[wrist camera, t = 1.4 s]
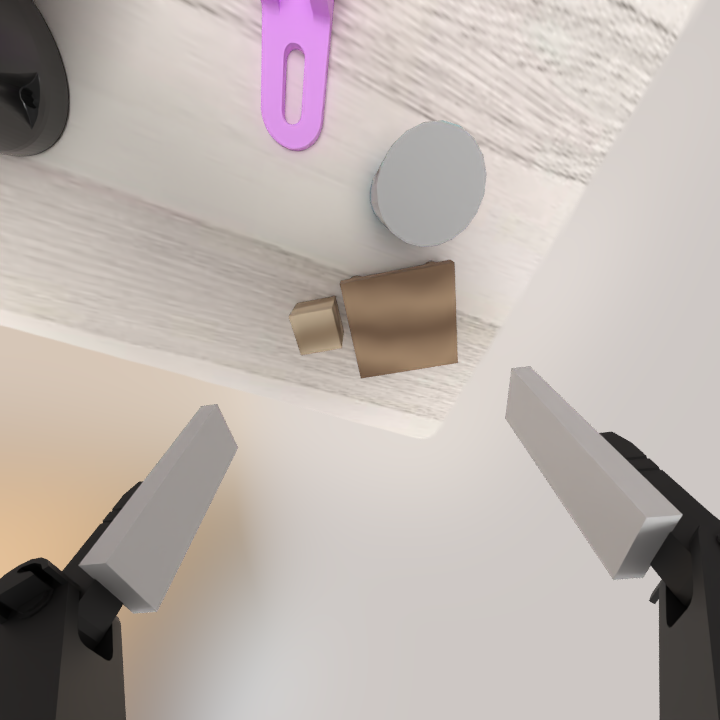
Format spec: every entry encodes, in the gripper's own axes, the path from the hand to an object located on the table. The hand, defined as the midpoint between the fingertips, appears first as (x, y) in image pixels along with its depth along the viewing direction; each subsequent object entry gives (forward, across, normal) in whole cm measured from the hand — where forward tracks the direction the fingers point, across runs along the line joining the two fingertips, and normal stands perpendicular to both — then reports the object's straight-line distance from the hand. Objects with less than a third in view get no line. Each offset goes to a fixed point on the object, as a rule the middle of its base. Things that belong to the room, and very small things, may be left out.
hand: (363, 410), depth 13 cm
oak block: (+26, -6, -4) cm, 27 cm away
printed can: (+26, +6, +8) cm, 27 cm away
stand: (+25, +4, -5) cm, 26 cm away
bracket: (+26, -3, +20) cm, 33 cm away
